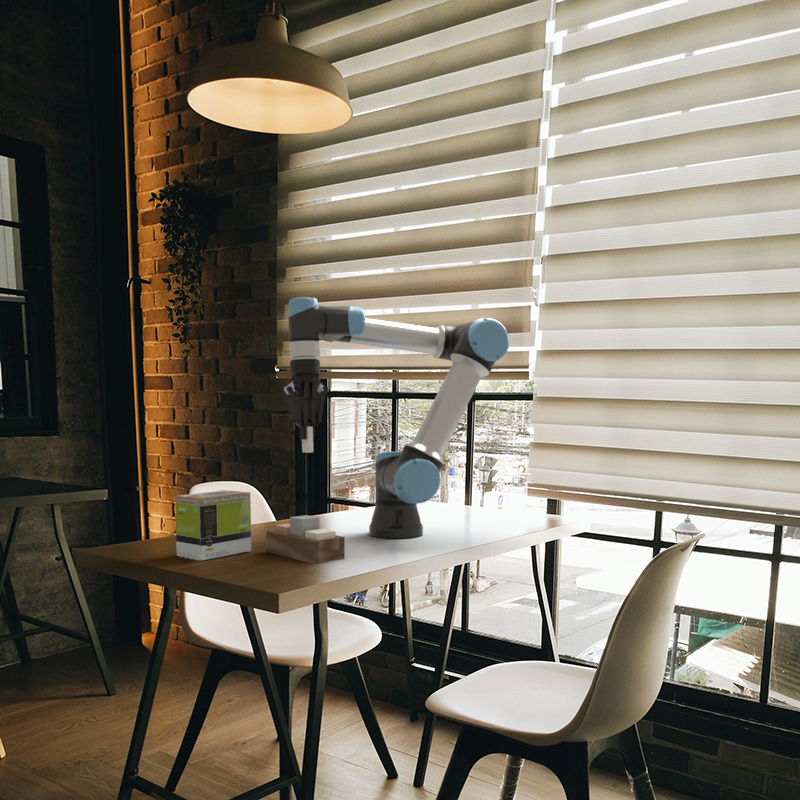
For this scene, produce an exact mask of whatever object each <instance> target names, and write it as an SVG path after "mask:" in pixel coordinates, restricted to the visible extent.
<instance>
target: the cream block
mask: <svg viewBox="0 0 800 800" xmlns="http://www.w3.org/2000/svg"><path fill="white" fill-rule="evenodd" d="M335 535H336V531H335V530H330V529H324V528H319V529H318V530H310V531H305V538H309V539H313V540H324V539H331V538H335Z"/></svg>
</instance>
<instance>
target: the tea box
mask: <svg viewBox="0 0 800 800" xmlns="http://www.w3.org/2000/svg"><path fill="white" fill-rule="evenodd" d="M251 504H252V503H251V492H250V491H238V490H226V489H225V490H224V489H223V490H216V491H205V492H198V493H189V494H182V495H181V494H180V495H176V496H175V517H176V518H175V519H176V520H175V521H176V522H175V523H176V525H175V529H176V531H175V533H176V534H175V540H176V544H175V545H176V546H175V547H176V556H177V557H178V556H179V557H180V558H183V557H184V558H183V559H188V558H189V560H193V559H194V561H199V562H201V561H207V560H211V559H216V558H217V559H218V558H222V557H226V556H232V555H238V554H242V553H247V552H251V551H252V516H251V515H252V513H251V512H252V509H251V507H252V506H251Z"/></svg>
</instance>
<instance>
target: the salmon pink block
mask: <svg viewBox="0 0 800 800" xmlns="http://www.w3.org/2000/svg"><path fill="white" fill-rule="evenodd" d="M274 530H275V531H277V532H281V533H286V534H288V533H290V522H289V523H282V524H275V529H274Z"/></svg>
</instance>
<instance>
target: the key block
mask: <svg viewBox="0 0 800 800" xmlns="http://www.w3.org/2000/svg"><path fill="white" fill-rule="evenodd" d="M265 532H266V535H265V536H266V538H265V539H266V541H265V542H266V548H265V549H266V550H265V551H266V553H270V554H273V555H277V556H282V557H286V558H289V559H293V560H297V561H301V562H306V563H308V564H313V565H314V564H320V563H325V562H331V561H332V562H333V561H337V560H342V559H343V560H344V559H345V556H346V555H345V553H346V552H345V547H346V546H345V545H346V544H345V536H341V535H336V534H335V538H331V539H324V540H313V539H309V538H305V537H300V536H295V535H290V533H288V534H286V533H281V532H277V531H275V529H273V530H267V531H265Z"/></svg>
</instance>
